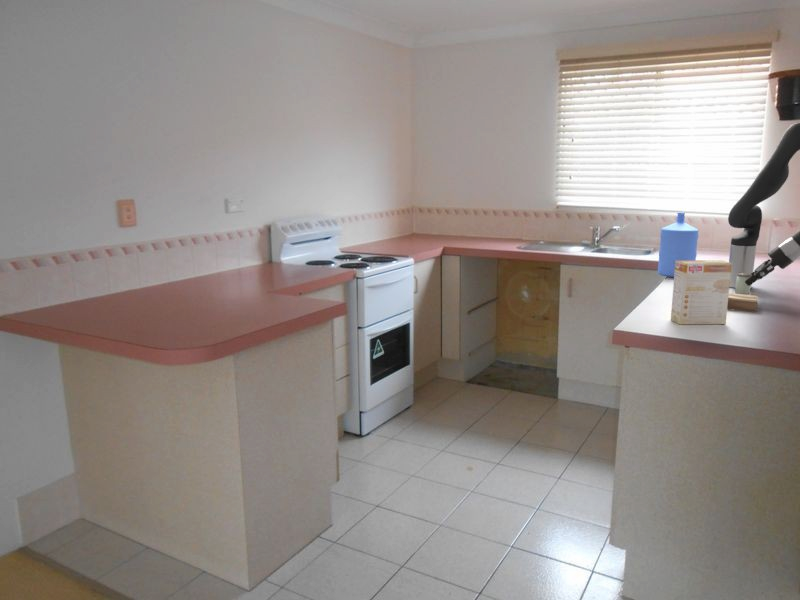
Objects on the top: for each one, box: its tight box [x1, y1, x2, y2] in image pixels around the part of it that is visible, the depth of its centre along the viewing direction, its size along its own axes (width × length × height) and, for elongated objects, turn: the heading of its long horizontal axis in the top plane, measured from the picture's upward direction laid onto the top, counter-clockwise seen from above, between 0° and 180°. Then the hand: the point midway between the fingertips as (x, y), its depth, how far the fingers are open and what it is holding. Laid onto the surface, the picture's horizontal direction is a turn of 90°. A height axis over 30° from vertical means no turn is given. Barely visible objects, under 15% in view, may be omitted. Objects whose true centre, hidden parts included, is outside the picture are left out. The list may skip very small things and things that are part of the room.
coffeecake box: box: [670, 259, 732, 325], centre depth 207 cm, size 15×7×20 cm, turn 92°
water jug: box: [657, 212, 699, 278], centre depth 296 cm, size 16×16×28 cm
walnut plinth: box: [727, 292, 758, 313], centre depth 230 cm, size 10×10×4 cm
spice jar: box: [734, 273, 752, 295], centre depth 241 cm, size 5×5×10 cm
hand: (746, 282), depth 241 cm, fingers open, 8 cm apart
